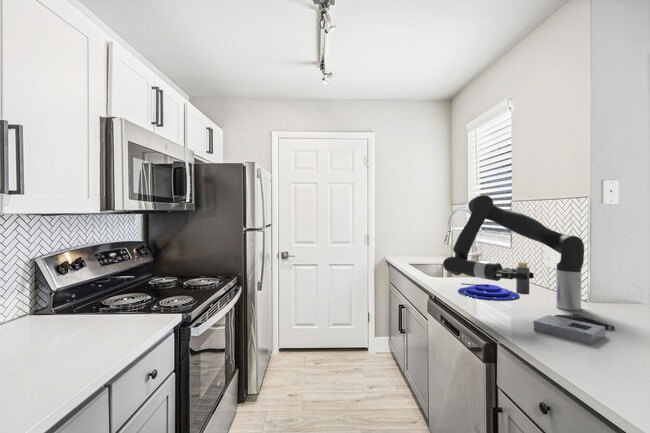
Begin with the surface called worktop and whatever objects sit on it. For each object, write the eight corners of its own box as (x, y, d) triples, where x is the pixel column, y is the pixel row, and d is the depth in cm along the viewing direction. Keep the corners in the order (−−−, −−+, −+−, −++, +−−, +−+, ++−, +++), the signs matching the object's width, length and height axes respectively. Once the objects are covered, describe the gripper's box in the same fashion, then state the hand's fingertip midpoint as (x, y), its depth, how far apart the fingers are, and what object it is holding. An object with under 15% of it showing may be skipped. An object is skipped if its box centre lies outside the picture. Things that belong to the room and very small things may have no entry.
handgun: (588, 327, 128) (616, 324, 130) (552, 314, 145) (578, 312, 146) (588, 333, 128) (616, 331, 130) (553, 320, 145) (578, 318, 147)
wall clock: (533, 288, 179) (485, 292, 170) (533, 299, 179) (485, 303, 170) (489, 278, 207) (446, 281, 198) (489, 287, 207) (446, 290, 198)
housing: (548, 323, 138) (548, 314, 138) (605, 336, 123) (605, 326, 123) (533, 330, 130) (533, 320, 130) (592, 345, 116) (592, 334, 116)
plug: (519, 291, 142) (519, 261, 142) (531, 293, 139) (531, 263, 139) (514, 292, 140) (514, 262, 140) (526, 294, 136) (526, 264, 136)
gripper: (478, 263, 146) (521, 268, 133) (496, 260, 155) (538, 265, 141) (478, 281, 146) (521, 288, 133) (496, 277, 155) (538, 283, 141)
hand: (530, 276), depth 137 cm, fingers closed on plug, 4 cm apart
